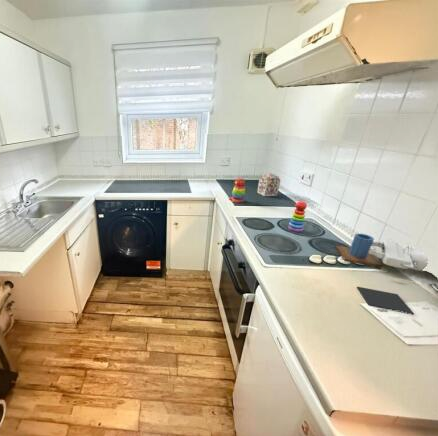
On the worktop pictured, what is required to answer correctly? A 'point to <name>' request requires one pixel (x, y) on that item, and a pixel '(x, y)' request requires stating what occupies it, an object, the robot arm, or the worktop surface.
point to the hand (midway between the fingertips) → (368, 246)
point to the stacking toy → (298, 217)
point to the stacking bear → (238, 191)
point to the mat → (384, 300)
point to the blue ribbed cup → (361, 245)
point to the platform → (350, 258)
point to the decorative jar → (268, 185)
